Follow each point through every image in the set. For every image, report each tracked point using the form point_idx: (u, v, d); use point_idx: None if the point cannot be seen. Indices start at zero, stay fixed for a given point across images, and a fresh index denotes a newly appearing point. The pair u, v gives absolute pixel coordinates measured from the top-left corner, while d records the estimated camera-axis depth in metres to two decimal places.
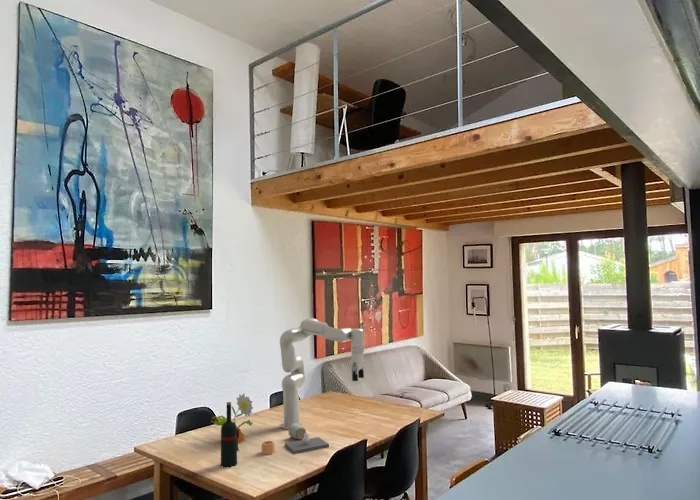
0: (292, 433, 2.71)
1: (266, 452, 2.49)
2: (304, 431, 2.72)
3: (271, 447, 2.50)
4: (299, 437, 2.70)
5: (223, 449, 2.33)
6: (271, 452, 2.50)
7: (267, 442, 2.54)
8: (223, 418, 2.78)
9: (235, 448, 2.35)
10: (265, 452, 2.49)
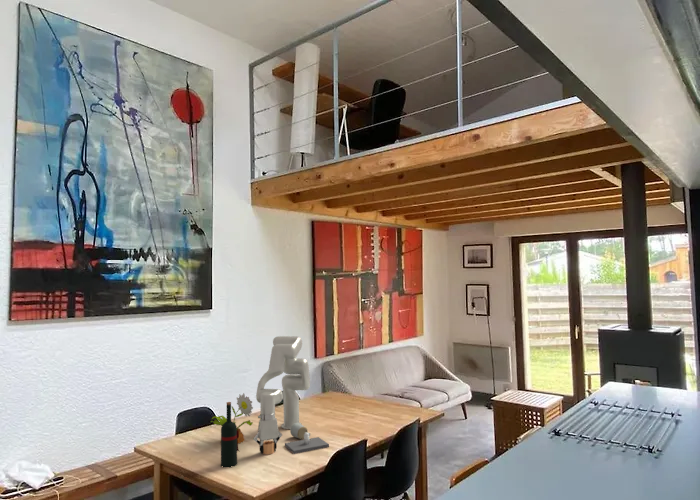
0: (294, 432, 2.72)
1: (266, 452, 2.49)
2: (306, 430, 2.73)
3: (271, 447, 2.50)
4: (301, 436, 2.71)
5: (223, 449, 2.33)
6: (271, 452, 2.50)
7: (267, 442, 2.54)
8: (223, 418, 2.78)
9: (235, 448, 2.35)
10: (265, 452, 2.49)
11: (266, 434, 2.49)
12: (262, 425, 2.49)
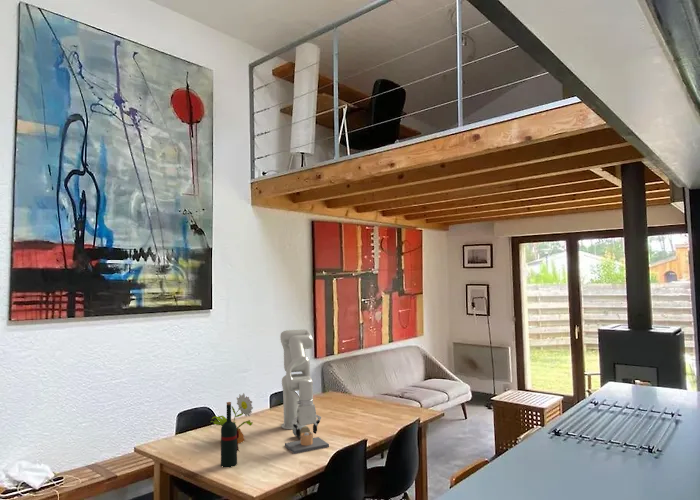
0: None
1: (305, 443, 2.57)
2: (308, 430, 2.74)
3: (310, 438, 2.58)
4: None
5: (223, 449, 2.33)
6: (310, 443, 2.58)
7: None
8: (223, 418, 2.78)
9: (235, 448, 2.35)
10: (304, 443, 2.57)
11: (305, 419, 2.58)
12: (301, 410, 2.57)
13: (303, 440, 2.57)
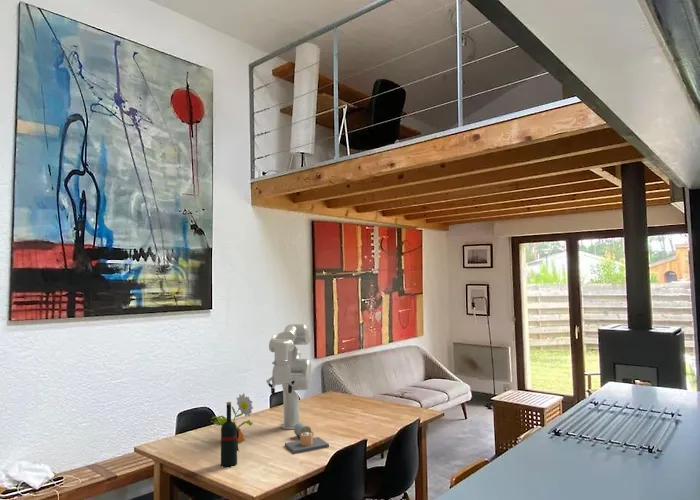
0: (297, 431, 2.74)
1: (305, 443, 2.57)
2: (309, 430, 2.75)
3: (310, 438, 2.58)
4: None
5: (223, 449, 2.33)
6: (310, 443, 2.58)
7: None
8: (223, 418, 2.78)
9: (235, 448, 2.35)
10: (304, 443, 2.57)
11: (280, 379, 2.67)
12: (276, 370, 2.67)
13: (303, 440, 2.57)
